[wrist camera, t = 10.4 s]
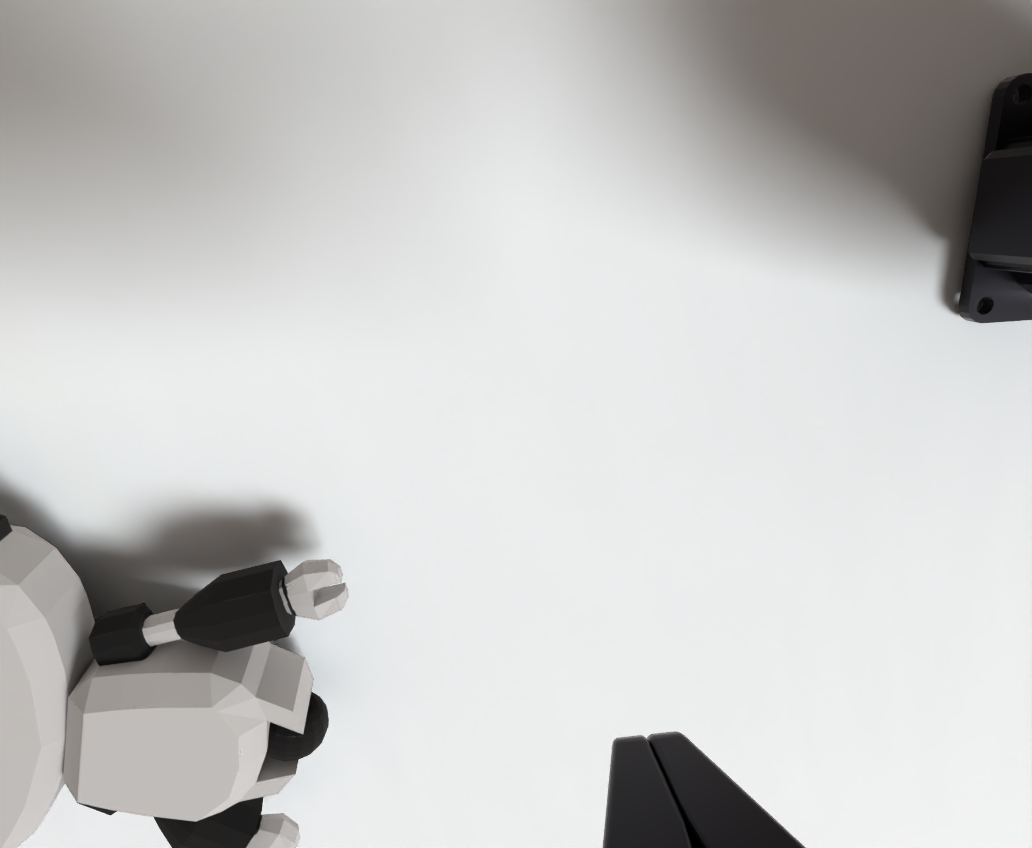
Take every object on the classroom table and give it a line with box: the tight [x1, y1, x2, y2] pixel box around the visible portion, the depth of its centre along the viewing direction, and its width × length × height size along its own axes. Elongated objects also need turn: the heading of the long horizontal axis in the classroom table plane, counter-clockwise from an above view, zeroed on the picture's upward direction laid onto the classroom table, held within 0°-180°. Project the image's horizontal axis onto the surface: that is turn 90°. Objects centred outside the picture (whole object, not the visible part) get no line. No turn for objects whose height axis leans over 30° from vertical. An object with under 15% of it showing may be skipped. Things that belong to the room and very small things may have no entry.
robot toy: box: [0, 514, 348, 848], centre depth 19 cm, size 12×4×15 cm
